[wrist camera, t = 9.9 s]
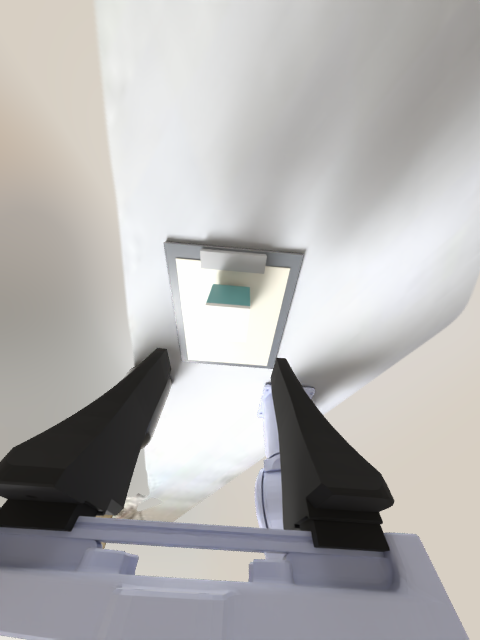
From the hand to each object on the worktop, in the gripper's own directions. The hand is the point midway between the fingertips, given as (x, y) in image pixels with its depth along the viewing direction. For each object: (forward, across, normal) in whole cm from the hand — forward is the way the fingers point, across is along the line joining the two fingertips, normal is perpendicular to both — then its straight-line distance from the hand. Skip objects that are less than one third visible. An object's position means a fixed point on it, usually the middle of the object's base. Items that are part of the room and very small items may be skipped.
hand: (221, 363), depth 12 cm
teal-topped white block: (+9, 0, 0) cm, 9 cm away
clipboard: (+10, 0, +3) cm, 10 cm away
